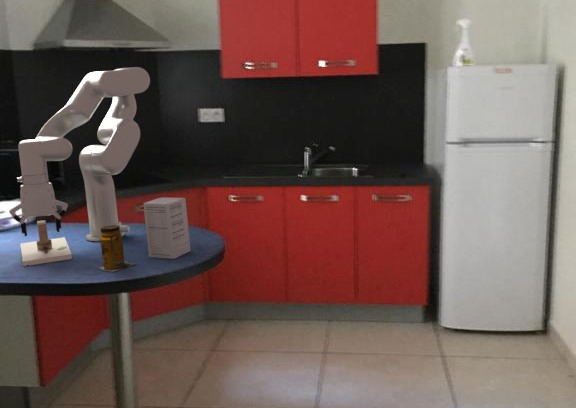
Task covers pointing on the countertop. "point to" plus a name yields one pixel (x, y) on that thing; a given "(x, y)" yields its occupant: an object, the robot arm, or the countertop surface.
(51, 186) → the robot arm
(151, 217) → the supplement box
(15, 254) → the countertop surface
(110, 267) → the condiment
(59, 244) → the white rectangular slab
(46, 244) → the brown piece
